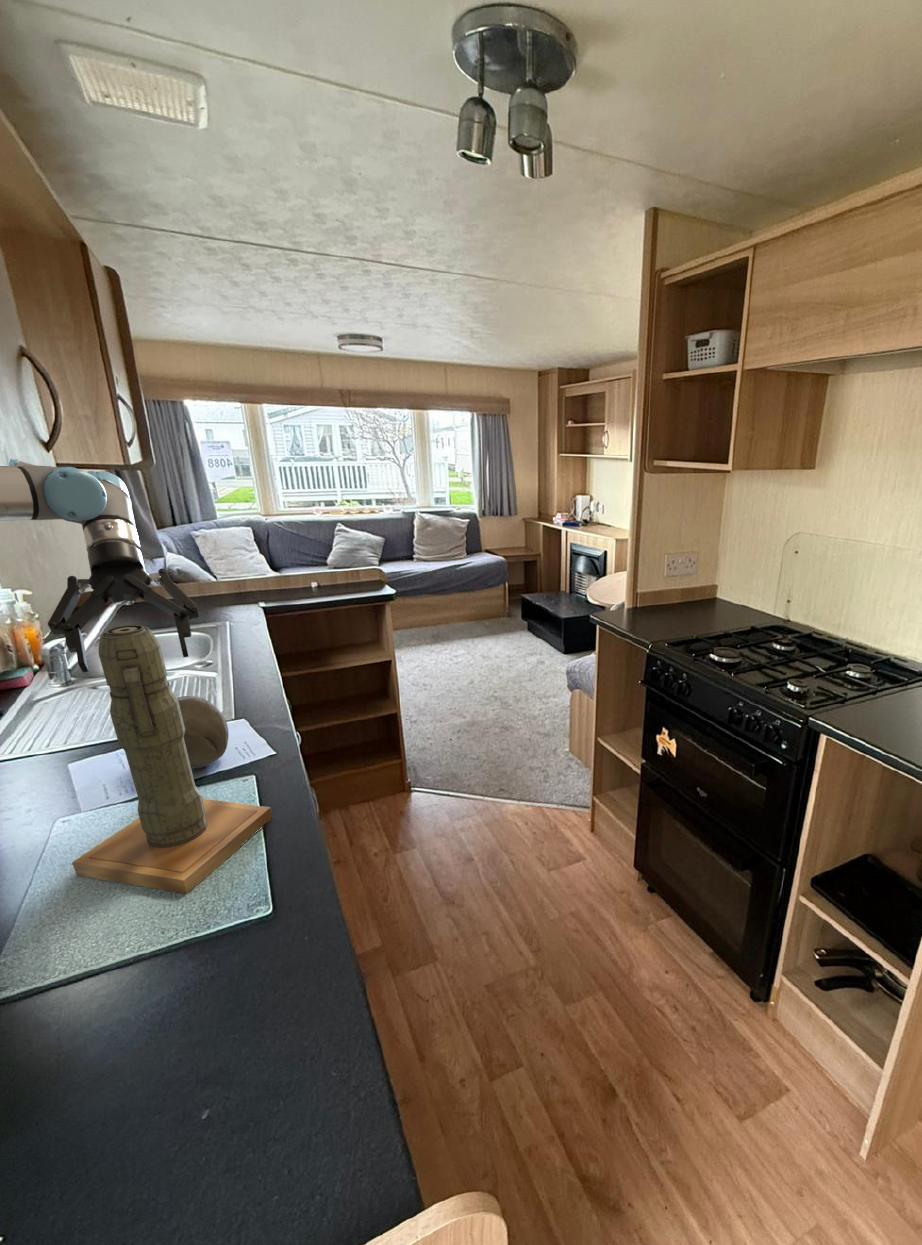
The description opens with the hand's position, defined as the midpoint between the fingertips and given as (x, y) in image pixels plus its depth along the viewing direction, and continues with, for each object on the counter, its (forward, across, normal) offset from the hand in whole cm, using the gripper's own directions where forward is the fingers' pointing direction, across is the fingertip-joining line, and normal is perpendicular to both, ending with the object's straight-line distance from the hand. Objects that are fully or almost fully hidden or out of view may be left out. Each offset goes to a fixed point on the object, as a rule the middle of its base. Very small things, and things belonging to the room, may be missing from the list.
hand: (136, 660), depth 98 cm
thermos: (+26, 0, +14) cm, 29 cm away
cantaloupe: (+7, +4, +36) cm, 37 cm away
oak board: (+28, 0, +15) cm, 31 cm away
